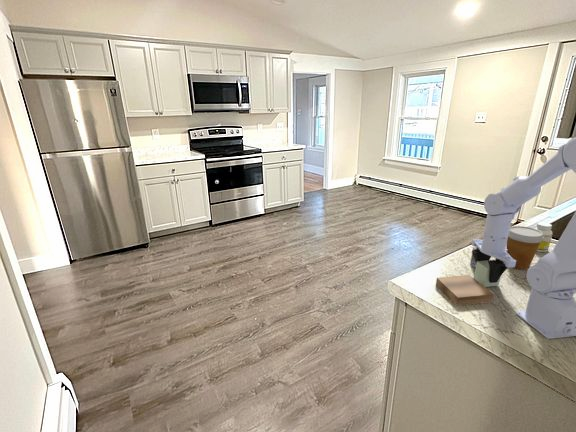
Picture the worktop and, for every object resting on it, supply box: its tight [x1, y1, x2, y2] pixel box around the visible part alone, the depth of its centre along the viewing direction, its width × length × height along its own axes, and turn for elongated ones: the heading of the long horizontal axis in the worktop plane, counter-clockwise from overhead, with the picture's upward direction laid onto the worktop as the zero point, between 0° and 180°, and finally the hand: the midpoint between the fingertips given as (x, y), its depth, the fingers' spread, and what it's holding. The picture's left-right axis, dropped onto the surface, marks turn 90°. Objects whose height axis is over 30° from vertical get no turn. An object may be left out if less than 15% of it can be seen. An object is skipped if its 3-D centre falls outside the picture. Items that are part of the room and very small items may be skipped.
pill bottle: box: [469, 238, 482, 268], centre depth 99 cm, size 5×5×8 cm
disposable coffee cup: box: [506, 225, 544, 270], centre depth 97 cm, size 10×10×12 cm
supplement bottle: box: [534, 221, 553, 253], centre depth 107 cm, size 5×5×10 cm
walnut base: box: [435, 274, 495, 306], centre depth 85 cm, size 10×10×2 cm
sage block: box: [473, 260, 501, 288], centre depth 89 cm, size 4×4×6 cm
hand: (486, 277), depth 90 cm, fingers closed on sage block, 4 cm apart
